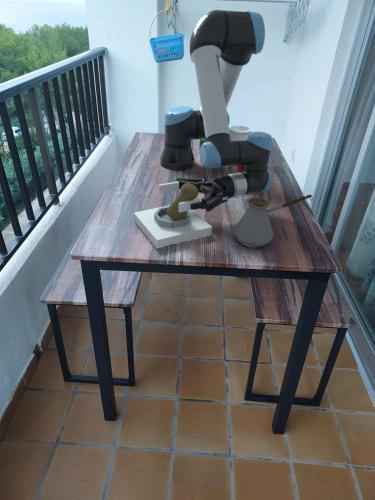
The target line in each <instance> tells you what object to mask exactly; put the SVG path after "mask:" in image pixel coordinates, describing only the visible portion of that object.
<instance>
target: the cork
mask: <svg viewBox="0 0 375 500" xmlns="http://www.w3.org/2000/svg"><path fill="white" fill-rule="evenodd" d="M179 192H180V193H179V194H178V195H177V196H176V198H175V199H174V200H173V202H172V203H171V204H170V207H169V208H168V209H167V214H168V216H169V217H170V218H171V219H173V220H175V221H176V220H180V219H184V218H185V217H186V215H187V212H188V211H185V212H179V203H181V202H186V201H191V200H196V198H198V195H199V193H198V189H197V188H196V187H195V186H194V185H193V184H190V183H186V184H184V185H183V186H182V187H181V189H179Z"/></svg>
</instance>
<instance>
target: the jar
mask: <svg viewBox="0 0 375 500" xmlns="http://www.w3.org/2000/svg"><path fill="white" fill-rule="evenodd" d="M229 132H230V138H231V141H243V140H247V138H248V135H249V133H251V132H253V129H252V127H249V126H245V125H230V126H229Z"/></svg>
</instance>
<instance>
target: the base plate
mask: <svg viewBox="0 0 375 500" xmlns="http://www.w3.org/2000/svg"><path fill="white" fill-rule="evenodd" d="M170 205H171V204H170ZM170 205H165V206H161V207H156V208H155V207H154V208H150V209H145V210H140V211H136V212H133V221H134V222H135V224H136V225H137V226H138V228H139V229H140V230H141V232H143V234H144V235H145V236H146V238H148V240H149V241H150V242H151V244H152V245H153V246H154V248H155V249H156V250H159V249H158V248H160V249H162V248H161V247H164V248H166V247H165V246H168V247H170V246H169V245H172V244H176V245H178V244H177V243H180V244H182V243H181V242H184V243H186V242H185V241H187V242H190V241H189V240H191V241H194V240H193V239H195V240H197V239H196V238H199V239H201V238H200V237H203V238H205V237H204V236H207V237H210V236H209V235H211V236H212V233H213V226H212V225H210V223H208V222H207V221H206V220H205V219H204V218H203V217H202V216H200V215H199V213H197V212H196V211H195V210H190V211H188V212H187V215H186V217H185V218H184V219H180V220H176V221H175V220H173V219H171V218H170V217H169V216H168V214H167V209H168V208H169V207H170ZM172 246H173V245H172Z"/></svg>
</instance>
